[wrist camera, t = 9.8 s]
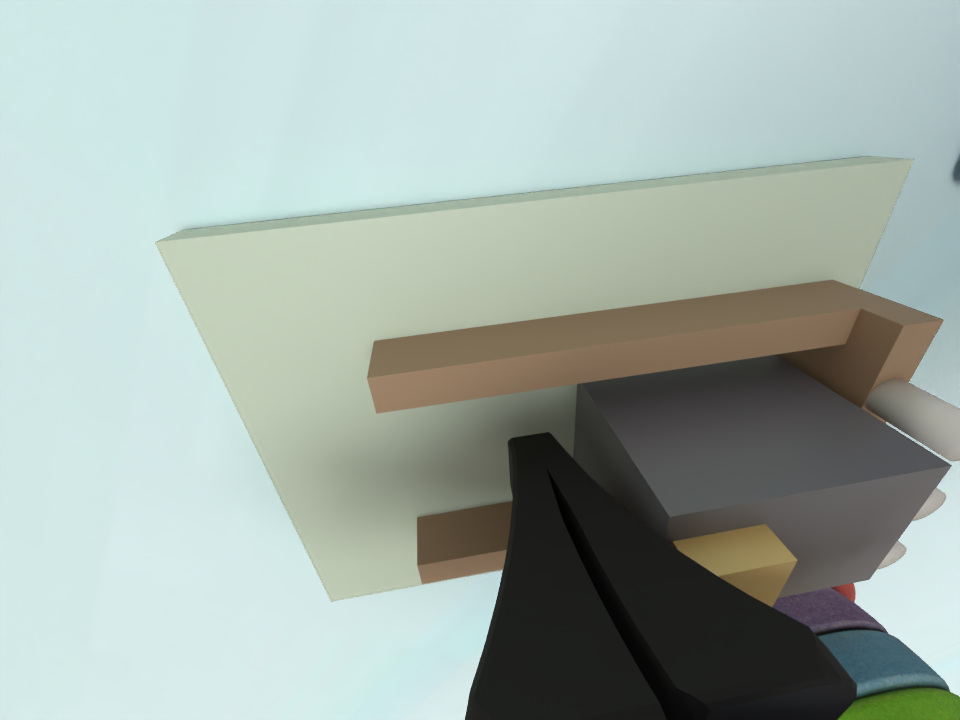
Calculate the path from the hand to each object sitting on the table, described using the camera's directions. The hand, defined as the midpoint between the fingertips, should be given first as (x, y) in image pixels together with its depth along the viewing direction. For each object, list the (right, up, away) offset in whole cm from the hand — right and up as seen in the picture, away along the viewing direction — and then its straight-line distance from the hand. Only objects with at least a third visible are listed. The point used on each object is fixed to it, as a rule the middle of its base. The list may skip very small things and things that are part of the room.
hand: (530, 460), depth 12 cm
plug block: (+5, +1, +1) cm, 5 cm away
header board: (+1, +1, +2) cm, 3 cm away
